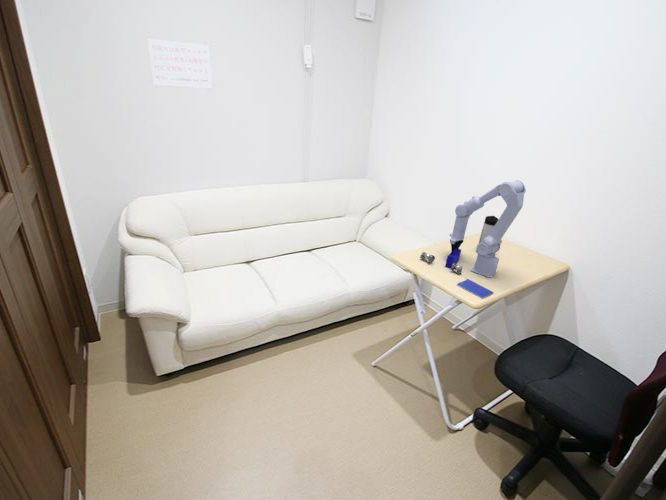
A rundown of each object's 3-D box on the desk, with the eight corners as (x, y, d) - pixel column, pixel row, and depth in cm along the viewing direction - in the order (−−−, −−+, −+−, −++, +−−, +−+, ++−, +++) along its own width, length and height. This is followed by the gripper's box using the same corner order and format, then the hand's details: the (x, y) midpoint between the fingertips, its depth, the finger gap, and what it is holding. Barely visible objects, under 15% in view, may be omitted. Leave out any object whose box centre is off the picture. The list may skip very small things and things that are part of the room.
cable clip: (449, 257, 177) (452, 247, 174) (458, 260, 174) (461, 249, 172) (442, 265, 167) (444, 254, 165) (451, 268, 165) (454, 257, 163)
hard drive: (457, 283, 150) (482, 296, 142) (468, 278, 155) (493, 291, 146) (456, 286, 151) (481, 300, 142) (467, 281, 156) (492, 294, 147)
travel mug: (489, 252, 187) (499, 217, 178) (487, 256, 182) (497, 220, 173) (477, 248, 190) (487, 214, 181) (475, 252, 184) (484, 217, 176)
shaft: (434, 261, 169) (435, 255, 167) (429, 263, 167) (430, 256, 165) (424, 256, 173) (426, 250, 172) (419, 258, 172) (421, 251, 170)
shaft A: (450, 270, 161) (451, 263, 160) (453, 268, 164) (454, 261, 162) (459, 273, 159) (460, 266, 158) (461, 271, 162) (463, 264, 160)
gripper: (457, 222, 178) (451, 246, 184) (446, 229, 167) (440, 254, 173) (470, 226, 174) (464, 250, 180) (460, 233, 164) (454, 259, 169)
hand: (453, 252), depth 176 cm, fingers closed
